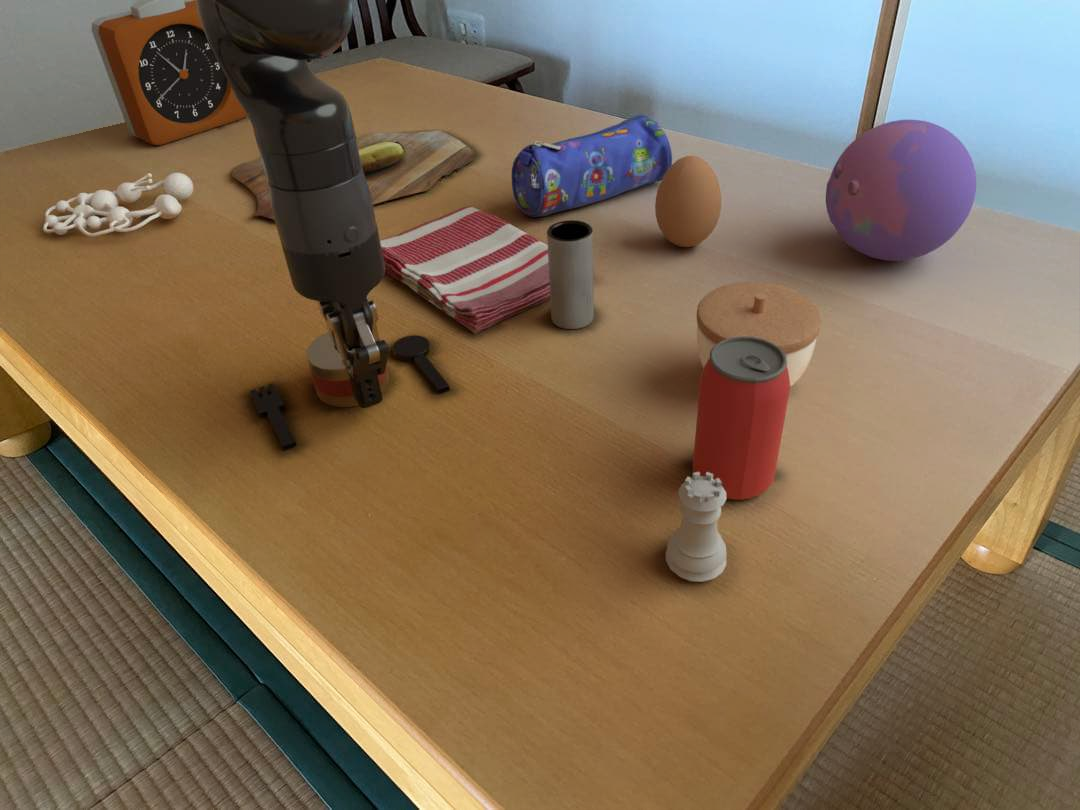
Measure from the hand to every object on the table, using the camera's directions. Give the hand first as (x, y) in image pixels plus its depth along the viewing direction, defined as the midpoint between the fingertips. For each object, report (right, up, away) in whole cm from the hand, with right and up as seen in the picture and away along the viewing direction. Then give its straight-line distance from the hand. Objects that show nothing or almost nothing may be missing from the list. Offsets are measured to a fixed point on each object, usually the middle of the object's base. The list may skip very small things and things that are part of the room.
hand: (369, 401), depth 75 cm
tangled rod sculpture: (-41, +25, +37) cm, 61 cm away
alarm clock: (-44, +47, +66) cm, 92 cm away
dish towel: (+8, +16, +22) cm, 28 cm away
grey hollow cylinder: (+19, +9, +13) cm, 24 cm away
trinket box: (+35, +2, +3) cm, 35 cm away
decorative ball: (+56, +17, +20) cm, 62 cm away
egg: (+33, +19, +24) cm, 45 cm away
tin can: (-3, +2, +5) cm, 6 cm away
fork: (-9, -2, +2) cm, 9 cm away
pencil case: (+23, +27, +36) cm, 50 cm away
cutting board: (-11, +34, +47) cm, 59 cm away
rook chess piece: (+27, -12, -14) cm, 33 cm away
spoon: (+4, +4, +7) cm, 9 cm away
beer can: (+31, -6, -7) cm, 33 cm away
